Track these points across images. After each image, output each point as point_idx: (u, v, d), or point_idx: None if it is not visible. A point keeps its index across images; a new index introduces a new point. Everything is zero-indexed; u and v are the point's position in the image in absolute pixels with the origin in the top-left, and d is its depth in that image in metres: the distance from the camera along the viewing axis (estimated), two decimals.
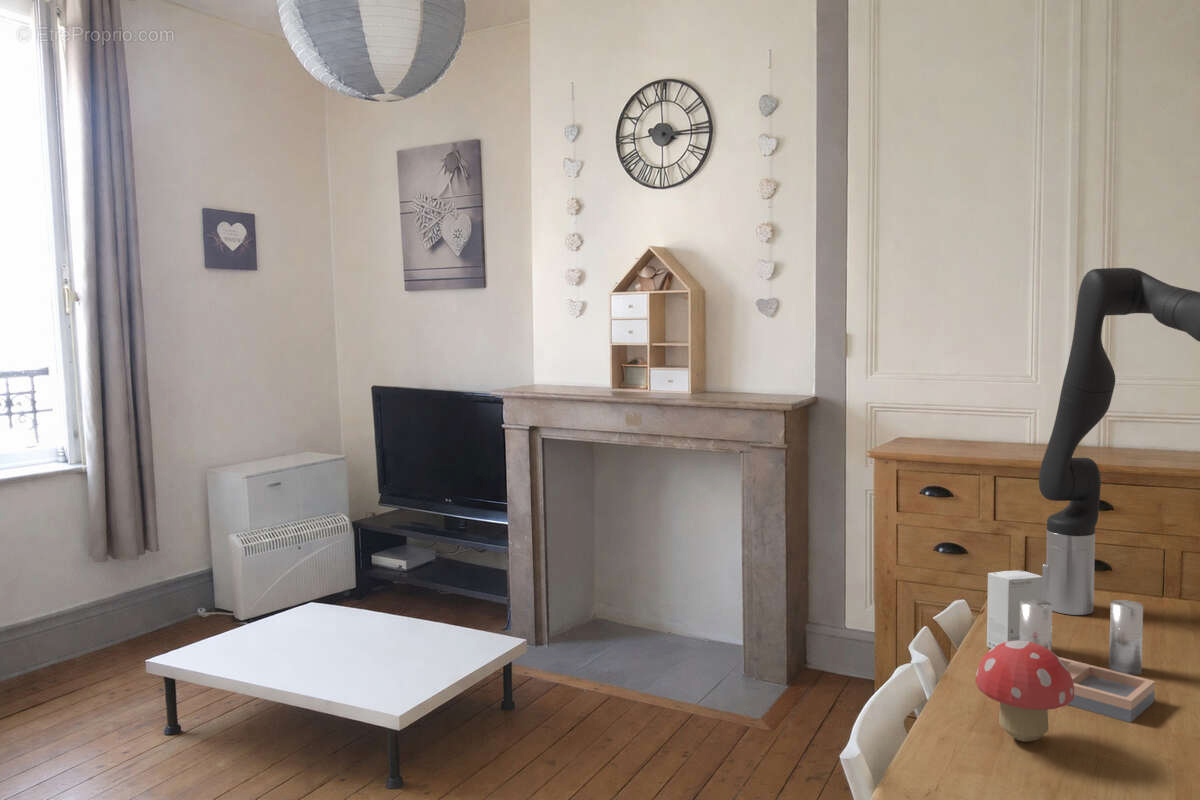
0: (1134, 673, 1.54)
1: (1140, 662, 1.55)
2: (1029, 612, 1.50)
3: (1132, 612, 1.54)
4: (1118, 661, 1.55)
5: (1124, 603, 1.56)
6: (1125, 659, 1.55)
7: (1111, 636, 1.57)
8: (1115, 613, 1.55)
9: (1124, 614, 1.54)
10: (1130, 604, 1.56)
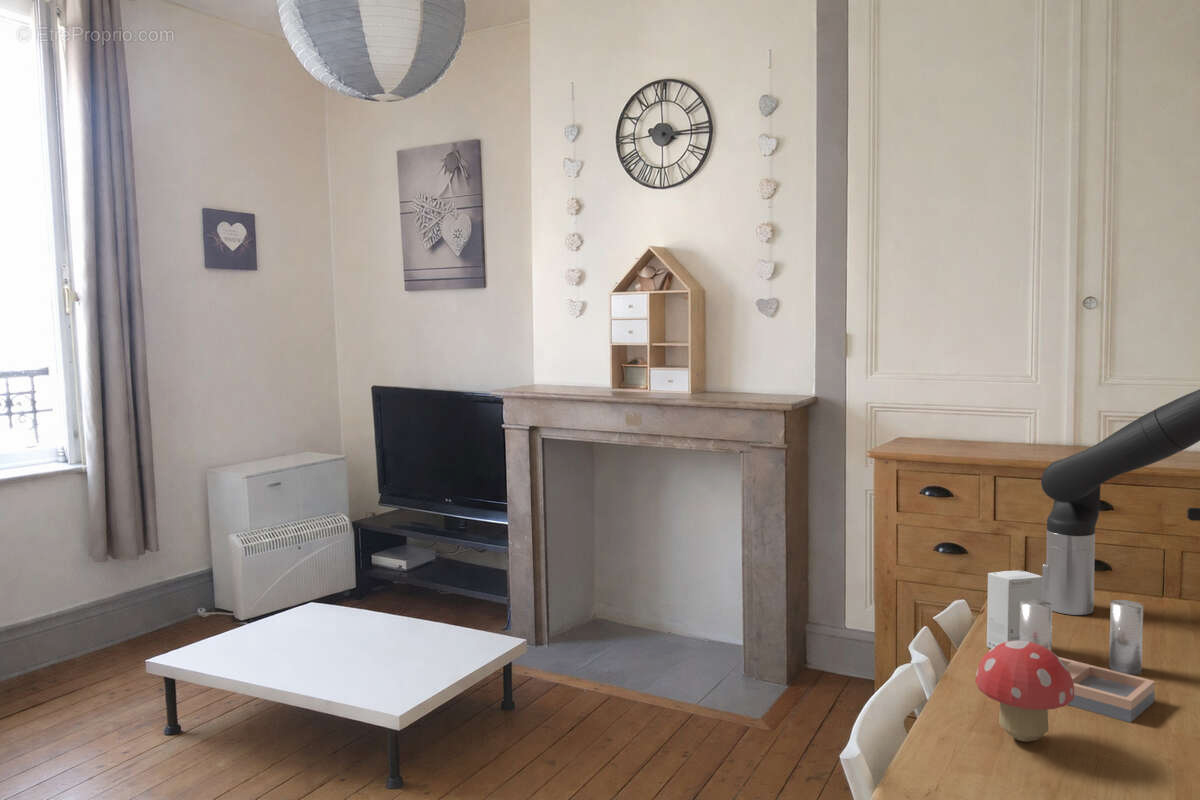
0: (1134, 673, 1.54)
1: (1140, 662, 1.55)
2: (1029, 612, 1.50)
3: (1132, 612, 1.54)
4: (1118, 661, 1.55)
5: (1124, 603, 1.56)
6: (1125, 659, 1.55)
7: (1111, 636, 1.57)
8: (1115, 613, 1.55)
9: (1124, 614, 1.54)
10: (1130, 604, 1.56)
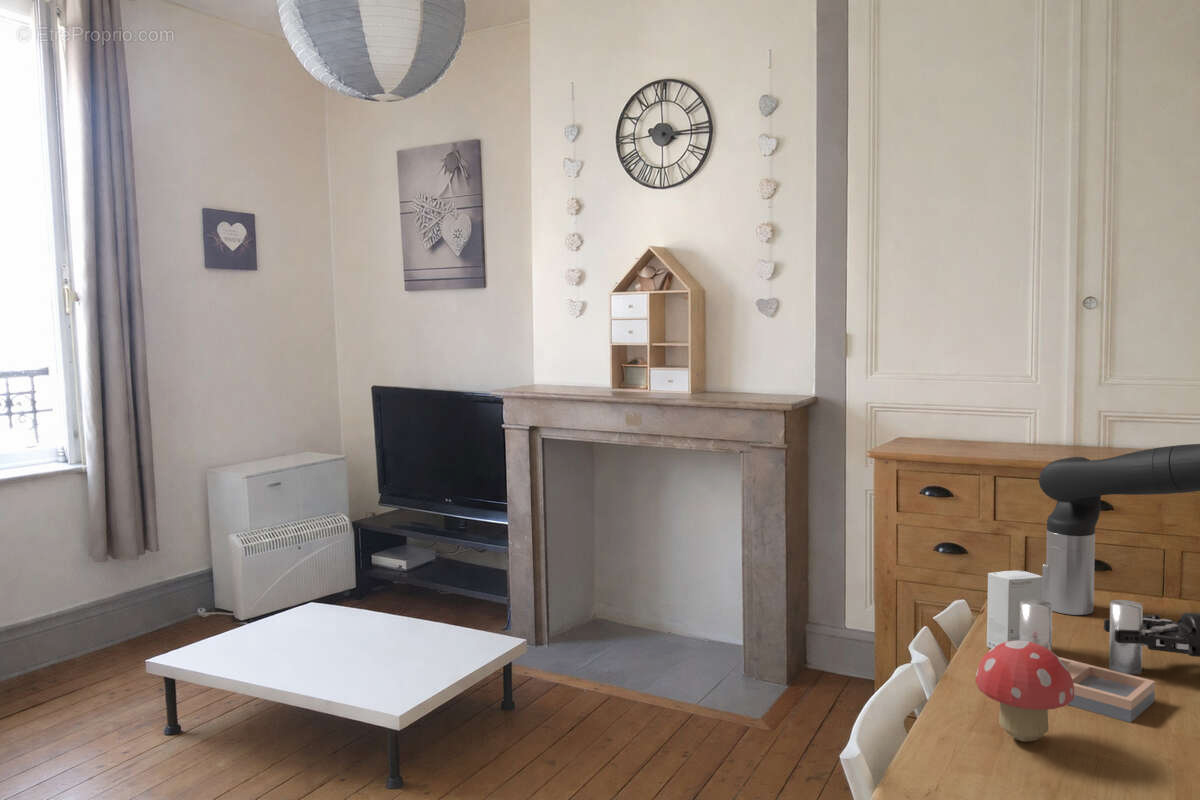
0: (1134, 673, 1.54)
1: (1140, 662, 1.55)
2: (1029, 612, 1.50)
3: (1131, 612, 1.54)
4: (1118, 661, 1.55)
5: (1124, 603, 1.56)
6: (1125, 659, 1.55)
7: (1111, 636, 1.57)
8: (1115, 613, 1.55)
9: (1123, 614, 1.54)
10: (1129, 604, 1.56)
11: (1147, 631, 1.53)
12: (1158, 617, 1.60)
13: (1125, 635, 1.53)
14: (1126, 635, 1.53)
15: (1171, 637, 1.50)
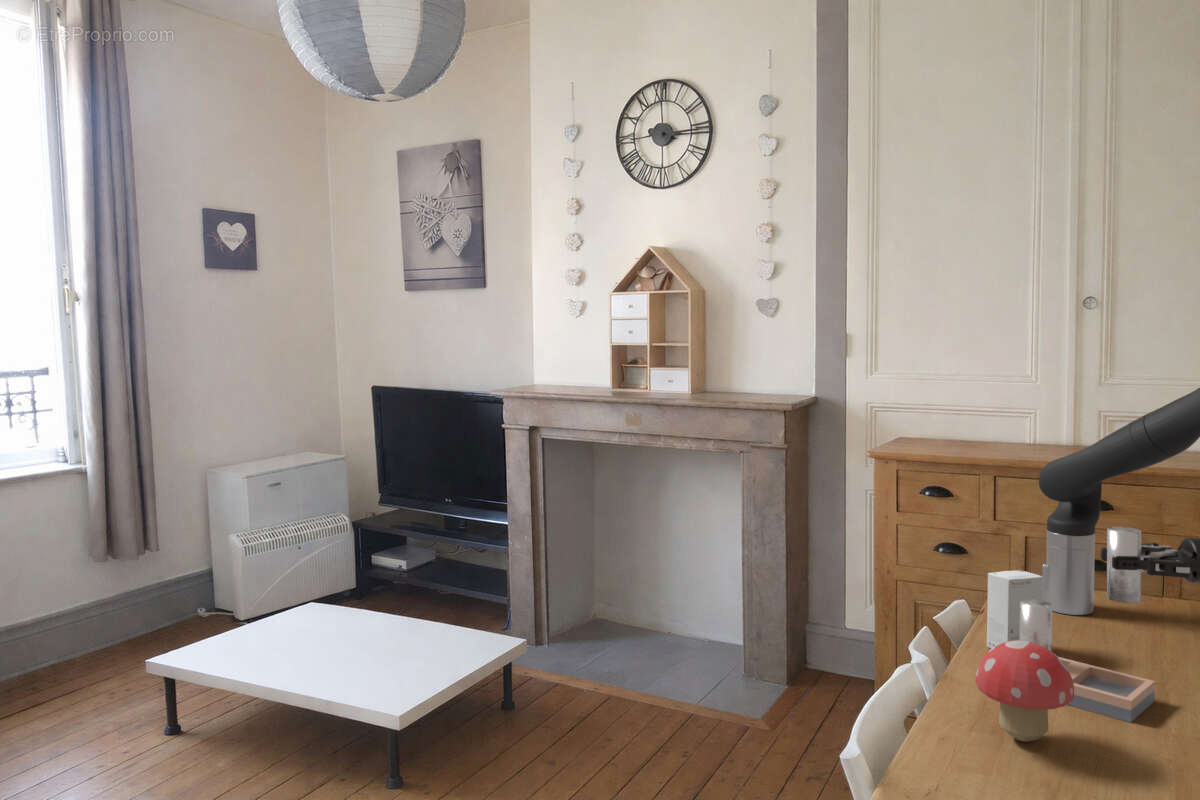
0: (1133, 601, 1.48)
1: (1139, 590, 1.48)
2: (1029, 612, 1.50)
3: (1129, 537, 1.47)
4: (1116, 589, 1.49)
5: (1121, 529, 1.50)
6: (1124, 587, 1.48)
7: (1108, 564, 1.50)
8: (1112, 539, 1.49)
9: (1121, 539, 1.47)
10: (1127, 530, 1.49)
11: (1146, 556, 1.46)
12: (1157, 545, 1.53)
13: (1123, 561, 1.46)
14: (1124, 561, 1.46)
15: (1171, 561, 1.43)
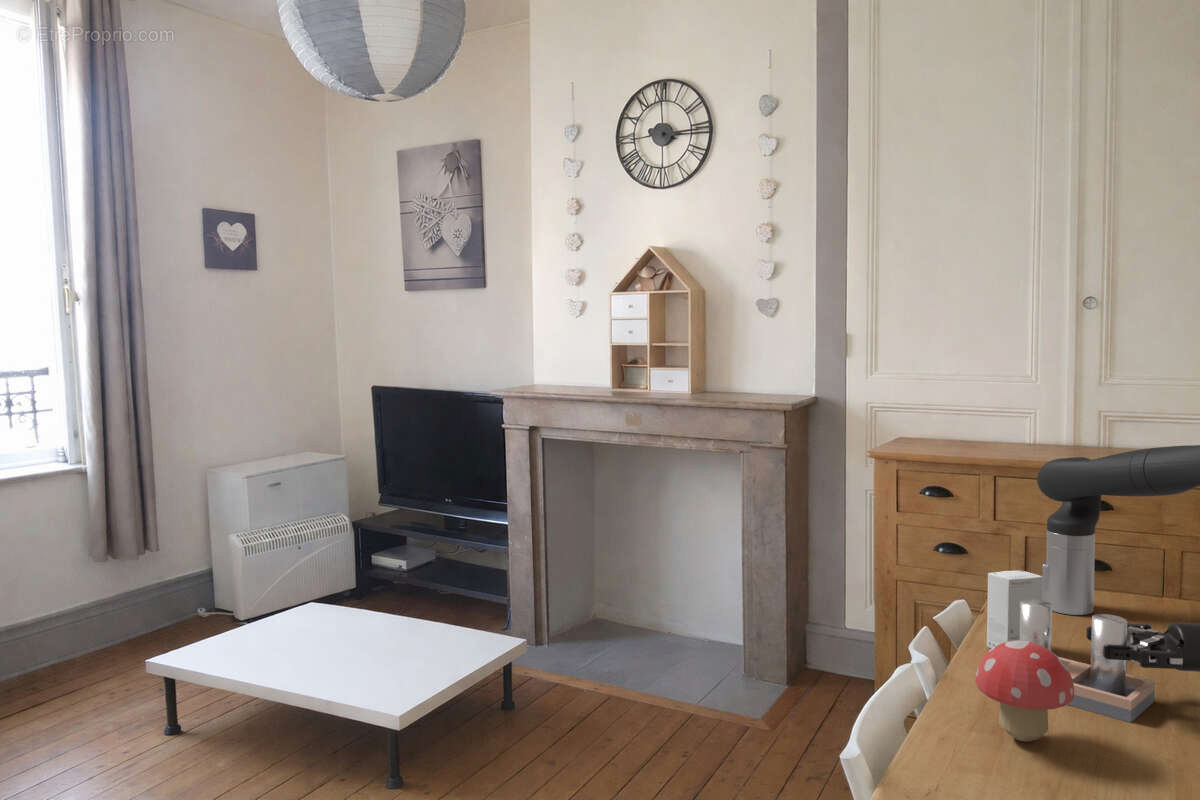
0: None
1: (1124, 682, 1.42)
2: (1029, 612, 1.50)
3: (1115, 628, 1.40)
4: (1100, 681, 1.42)
5: (1106, 618, 1.43)
6: (1108, 680, 1.41)
7: (1092, 654, 1.43)
8: (1097, 629, 1.42)
9: (1106, 630, 1.41)
10: (1112, 619, 1.42)
11: (1139, 646, 1.38)
12: (1148, 627, 1.47)
13: (1115, 651, 1.38)
14: (1116, 651, 1.38)
15: (1164, 652, 1.35)
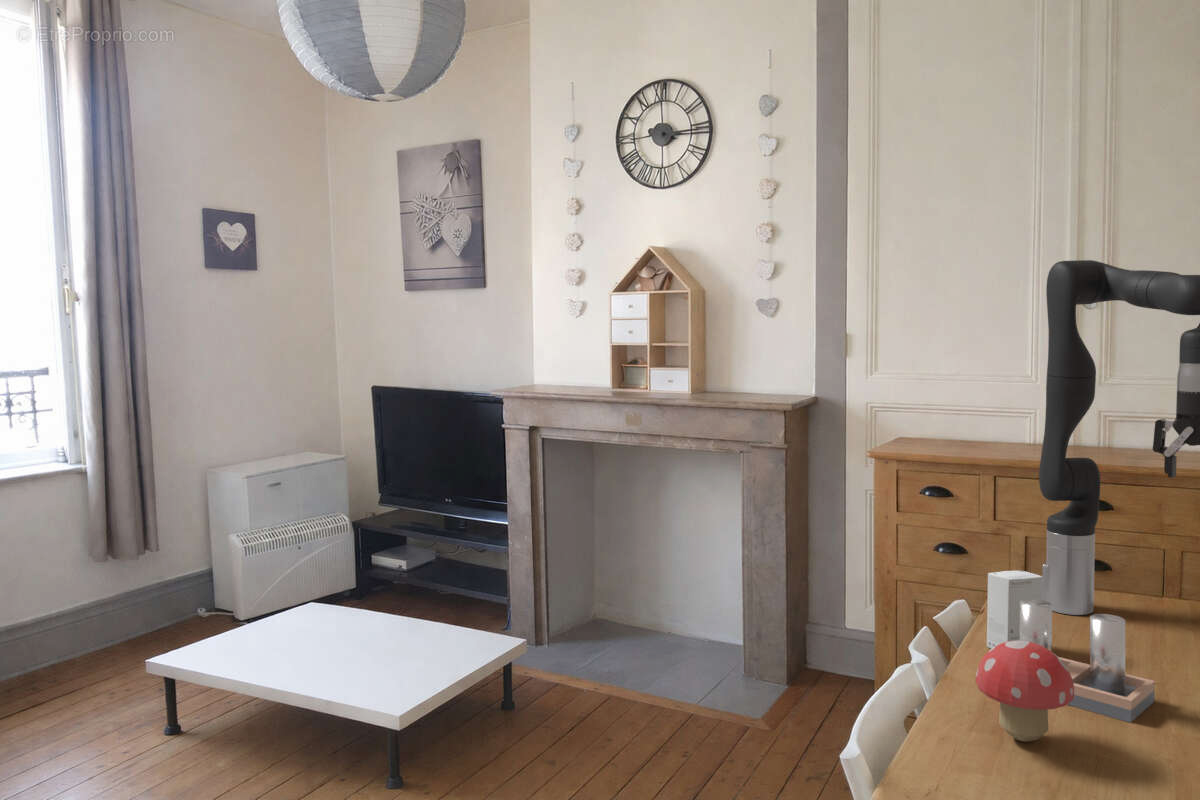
0: (1116, 694, 1.41)
1: (1123, 682, 1.41)
2: (1029, 612, 1.50)
3: (1112, 627, 1.40)
4: (1099, 680, 1.42)
5: (1105, 617, 1.43)
6: (1106, 679, 1.41)
7: (1091, 653, 1.44)
8: (1094, 629, 1.42)
9: (1103, 629, 1.41)
10: (1111, 619, 1.42)
11: None
12: (1162, 423, 1.58)
13: None
14: None
15: None
